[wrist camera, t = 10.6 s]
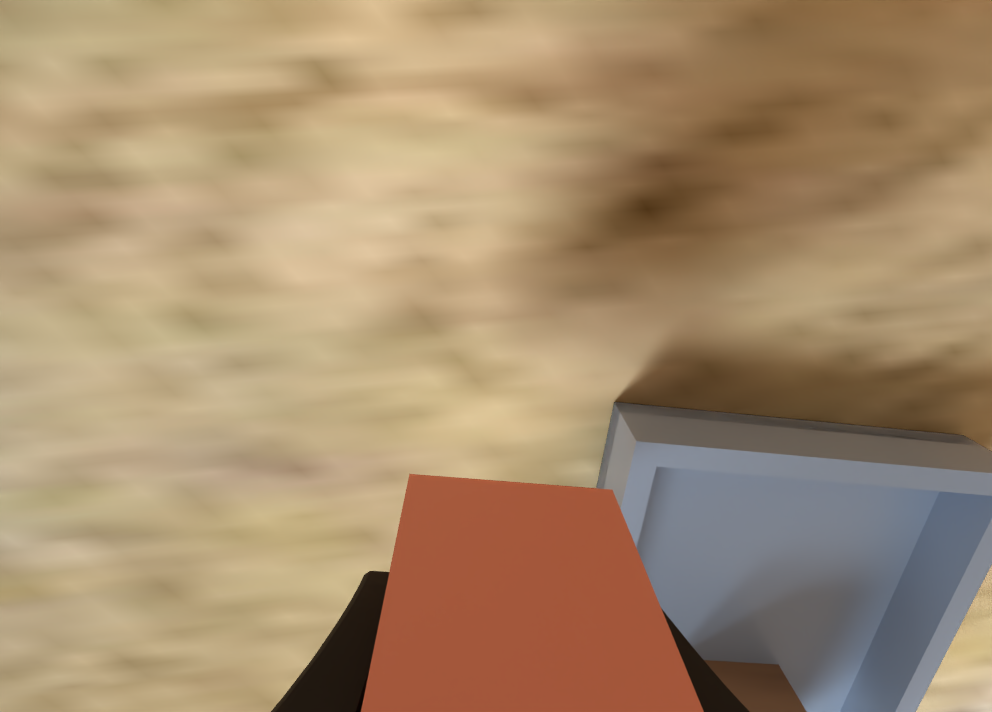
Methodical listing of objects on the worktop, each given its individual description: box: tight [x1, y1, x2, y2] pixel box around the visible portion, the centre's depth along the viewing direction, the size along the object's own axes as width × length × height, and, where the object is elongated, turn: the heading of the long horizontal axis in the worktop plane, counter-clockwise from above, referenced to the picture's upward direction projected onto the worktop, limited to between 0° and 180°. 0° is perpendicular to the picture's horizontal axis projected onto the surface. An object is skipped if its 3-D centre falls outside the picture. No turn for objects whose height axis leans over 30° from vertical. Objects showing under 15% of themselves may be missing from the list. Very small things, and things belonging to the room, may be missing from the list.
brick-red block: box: [361, 474, 704, 712], centre depth 10 cm, size 4×4×6 cm
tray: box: [596, 402, 992, 712], centre depth 21 cm, size 18×13×3 cm
